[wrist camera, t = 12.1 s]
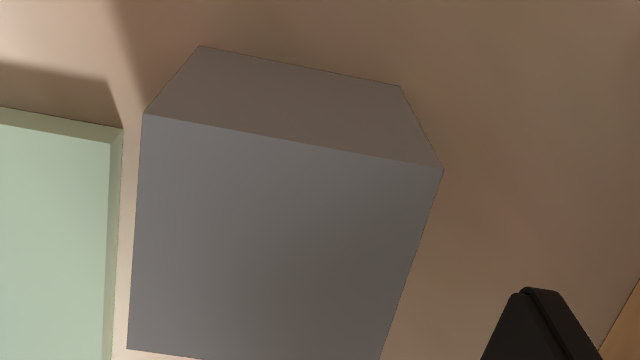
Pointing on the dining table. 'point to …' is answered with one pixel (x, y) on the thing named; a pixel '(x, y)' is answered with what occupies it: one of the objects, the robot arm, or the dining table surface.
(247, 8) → the dining table surface
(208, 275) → the gray cube
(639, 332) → the wooden tray
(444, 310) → the dining table surface
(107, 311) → the board
